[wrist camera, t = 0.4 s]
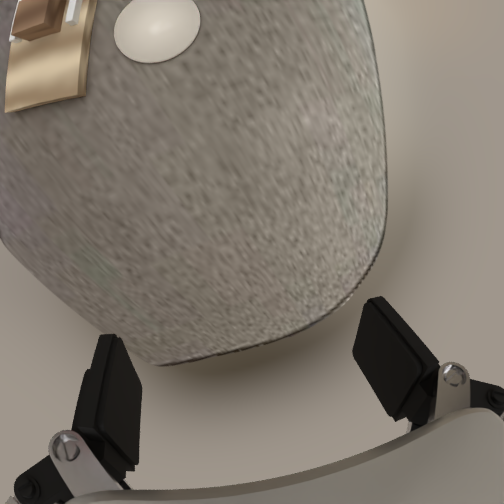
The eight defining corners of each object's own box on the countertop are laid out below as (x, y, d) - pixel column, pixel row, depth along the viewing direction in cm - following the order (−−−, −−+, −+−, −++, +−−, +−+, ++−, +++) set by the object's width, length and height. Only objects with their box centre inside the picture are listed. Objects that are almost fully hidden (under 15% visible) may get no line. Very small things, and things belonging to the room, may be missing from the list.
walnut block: (35, 10, 18) (18, 1, 13) (66, 0, 19) (51, -12, 14) (29, 41, 20) (10, 35, 16) (60, 31, 21) (43, 22, 17)
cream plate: (121, -3, 23) (120, -5, 22) (203, -9, 25) (204, -11, 24) (111, 67, 28) (110, 66, 27) (196, 61, 30) (196, 60, 29)
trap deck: (42, -35, 15) (29, -45, 10) (112, -55, 17) (105, -71, 13) (15, 111, 26) (-4, 113, 22) (85, 96, 28) (71, 94, 24)
